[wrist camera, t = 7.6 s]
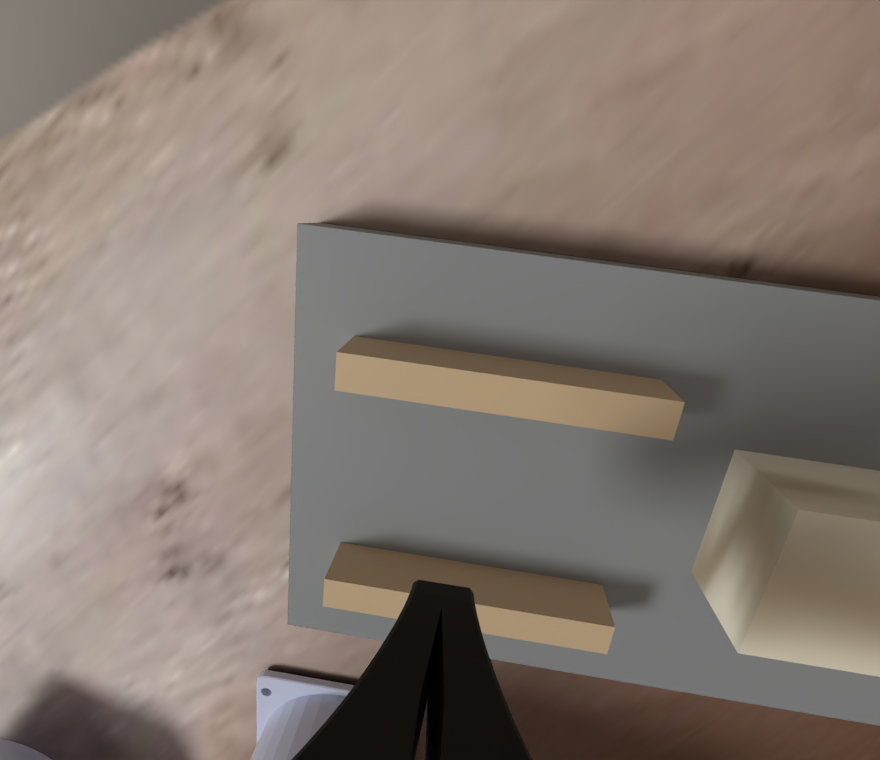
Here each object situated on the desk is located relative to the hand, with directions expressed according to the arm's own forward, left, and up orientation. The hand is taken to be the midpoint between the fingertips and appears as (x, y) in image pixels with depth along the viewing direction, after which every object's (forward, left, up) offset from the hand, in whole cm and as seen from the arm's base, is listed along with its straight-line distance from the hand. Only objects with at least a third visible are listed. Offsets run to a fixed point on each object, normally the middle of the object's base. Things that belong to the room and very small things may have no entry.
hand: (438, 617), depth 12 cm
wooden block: (0, -12, -6) cm, 13 cm away
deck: (0, -11, -8) cm, 13 cm away
